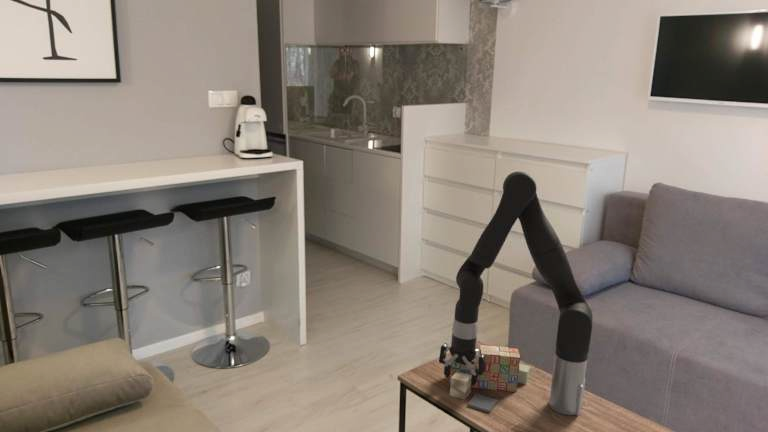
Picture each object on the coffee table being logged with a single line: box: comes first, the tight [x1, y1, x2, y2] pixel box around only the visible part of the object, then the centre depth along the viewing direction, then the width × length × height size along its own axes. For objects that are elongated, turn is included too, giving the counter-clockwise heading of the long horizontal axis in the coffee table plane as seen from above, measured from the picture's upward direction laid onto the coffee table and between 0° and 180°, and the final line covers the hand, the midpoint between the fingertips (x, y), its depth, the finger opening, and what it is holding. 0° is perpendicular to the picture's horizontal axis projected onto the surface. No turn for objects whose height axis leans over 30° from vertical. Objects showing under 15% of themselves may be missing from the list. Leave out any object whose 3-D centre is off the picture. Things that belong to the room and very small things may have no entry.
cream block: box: [449, 371, 472, 401], centre depth 183 cm, size 5×5×6 cm
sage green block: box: [517, 363, 532, 386], centre depth 193 cm, size 4×4×4 cm
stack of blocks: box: [448, 344, 521, 393], centre depth 188 cm, size 21×6×12 cm, turn 83°
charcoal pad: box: [467, 393, 498, 414], centre depth 178 cm, size 7×7×1 cm
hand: (460, 380), depth 183 cm, fingers open, 8 cm apart
